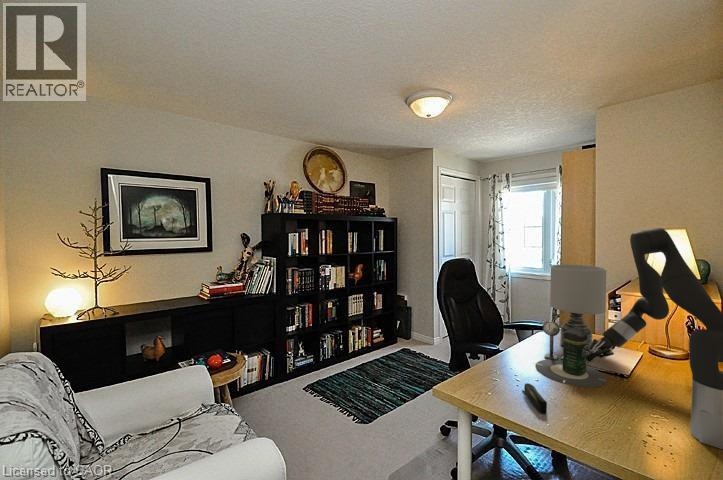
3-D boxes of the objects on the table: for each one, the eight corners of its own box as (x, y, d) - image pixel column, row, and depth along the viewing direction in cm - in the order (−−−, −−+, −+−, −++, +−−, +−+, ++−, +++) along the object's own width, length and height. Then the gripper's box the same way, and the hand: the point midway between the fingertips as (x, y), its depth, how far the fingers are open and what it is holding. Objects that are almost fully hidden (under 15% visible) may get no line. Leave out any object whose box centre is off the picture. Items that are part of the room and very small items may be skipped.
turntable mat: (603, 394, 121) (603, 393, 121) (528, 373, 139) (528, 373, 139) (608, 370, 141) (608, 369, 141) (542, 355, 158) (542, 354, 158)
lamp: (594, 360, 151) (596, 272, 149) (541, 345, 171) (542, 267, 169) (611, 348, 165) (613, 267, 164) (561, 335, 185) (562, 263, 183)
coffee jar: (580, 378, 133) (580, 335, 133) (559, 371, 140) (560, 330, 139) (589, 372, 139) (590, 330, 138) (569, 365, 145) (570, 325, 145)
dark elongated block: (548, 401, 109) (528, 379, 124) (539, 401, 109) (520, 379, 124) (548, 415, 109) (528, 391, 124) (539, 415, 109) (520, 391, 124)
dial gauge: (558, 361, 150) (559, 323, 150) (542, 357, 155) (542, 320, 154) (560, 358, 154) (561, 320, 153) (544, 354, 159) (544, 318, 158)
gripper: (636, 346, 129) (601, 373, 132) (617, 334, 141) (586, 359, 145) (621, 332, 129) (587, 359, 133) (604, 322, 142) (573, 347, 146)
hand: (586, 359), depth 139 cm, fingers closed
